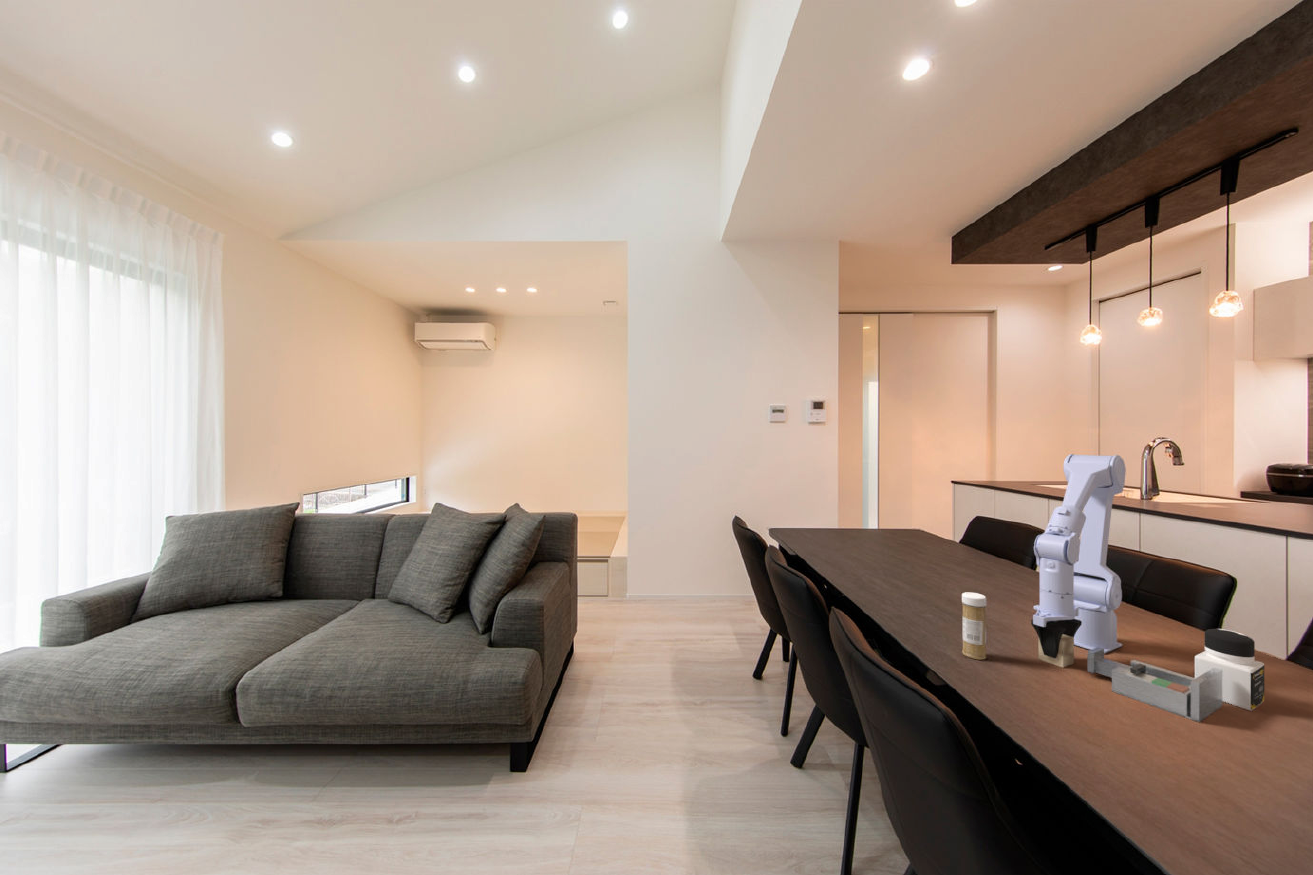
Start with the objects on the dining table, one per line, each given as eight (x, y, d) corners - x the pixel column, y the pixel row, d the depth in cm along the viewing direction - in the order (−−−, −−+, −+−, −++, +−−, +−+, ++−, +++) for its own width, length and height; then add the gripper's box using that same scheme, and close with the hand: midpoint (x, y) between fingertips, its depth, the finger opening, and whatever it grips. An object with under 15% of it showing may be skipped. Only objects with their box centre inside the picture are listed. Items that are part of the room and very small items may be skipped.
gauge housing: (1137, 678, 98) (1137, 645, 98) (1222, 705, 88) (1222, 669, 88) (1111, 691, 93) (1111, 656, 93) (1199, 722, 83) (1199, 683, 83)
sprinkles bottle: (990, 657, 108) (990, 595, 108) (980, 662, 105) (980, 599, 105) (967, 649, 112) (967, 590, 112) (957, 654, 109) (957, 593, 109)
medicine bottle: (1252, 711, 86) (1252, 643, 86) (1194, 693, 93) (1193, 629, 93) (1265, 701, 90) (1265, 635, 90) (1208, 684, 96) (1208, 622, 96)
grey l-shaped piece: (1097, 666, 101) (1097, 644, 101) (1153, 684, 94) (1153, 661, 94) (1080, 674, 98) (1080, 652, 98) (1136, 693, 90) (1136, 669, 90)
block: (1049, 654, 109) (1049, 629, 109) (1073, 663, 105) (1073, 637, 105) (1038, 658, 107) (1038, 633, 107) (1063, 667, 103) (1063, 641, 103)
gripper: (1052, 581, 113) (1052, 640, 113) (1016, 590, 106) (1016, 653, 106) (1090, 589, 106) (1090, 652, 106) (1055, 599, 100) (1055, 666, 100)
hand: (1056, 653), depth 106 cm, fingers closed on block, 4 cm apart
